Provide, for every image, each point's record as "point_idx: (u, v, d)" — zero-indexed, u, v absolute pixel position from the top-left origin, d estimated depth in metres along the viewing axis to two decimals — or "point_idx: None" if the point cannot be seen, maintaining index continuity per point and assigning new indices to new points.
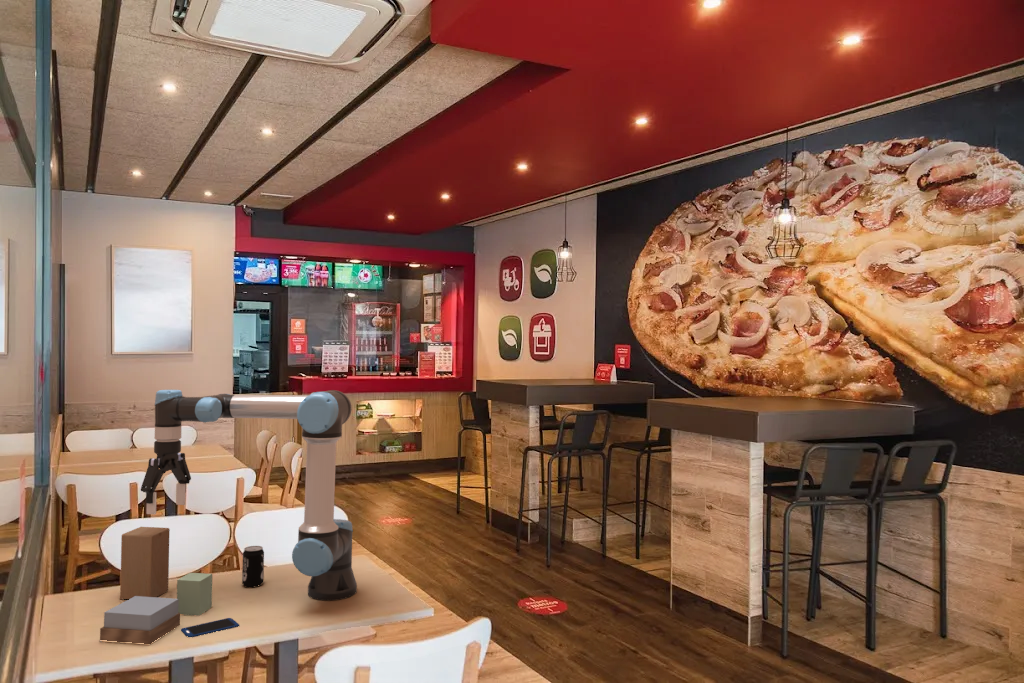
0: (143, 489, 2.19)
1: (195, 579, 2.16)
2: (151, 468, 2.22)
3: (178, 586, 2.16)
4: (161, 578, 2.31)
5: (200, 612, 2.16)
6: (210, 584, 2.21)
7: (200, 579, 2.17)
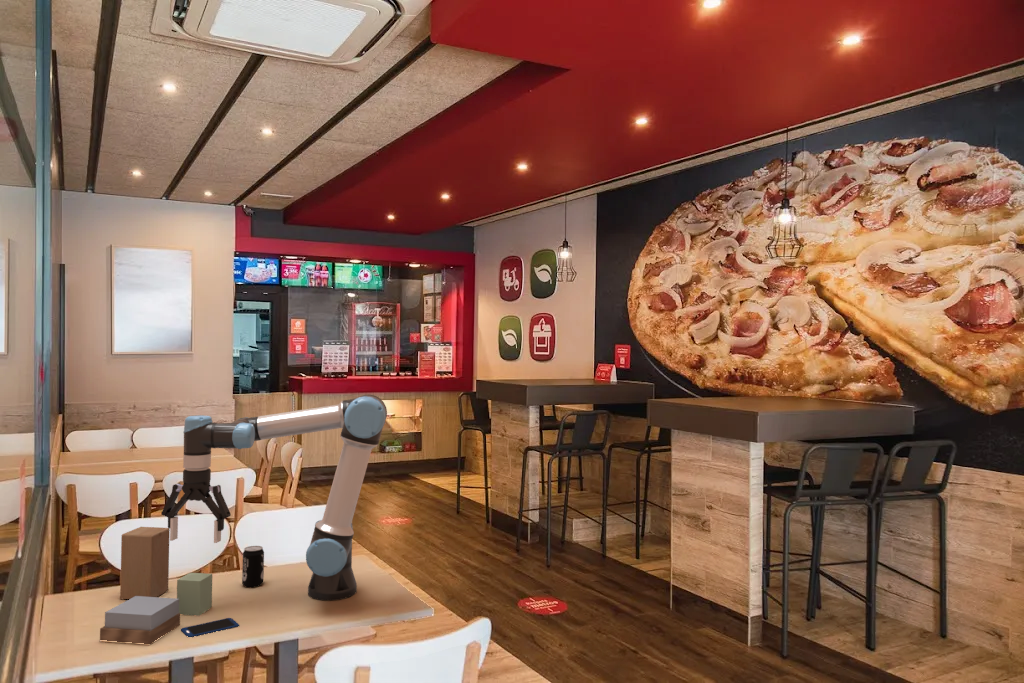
0: None
1: (195, 579, 2.16)
2: None
3: (178, 586, 2.16)
4: (161, 578, 2.31)
5: (200, 612, 2.16)
6: (210, 584, 2.21)
7: (200, 579, 2.17)
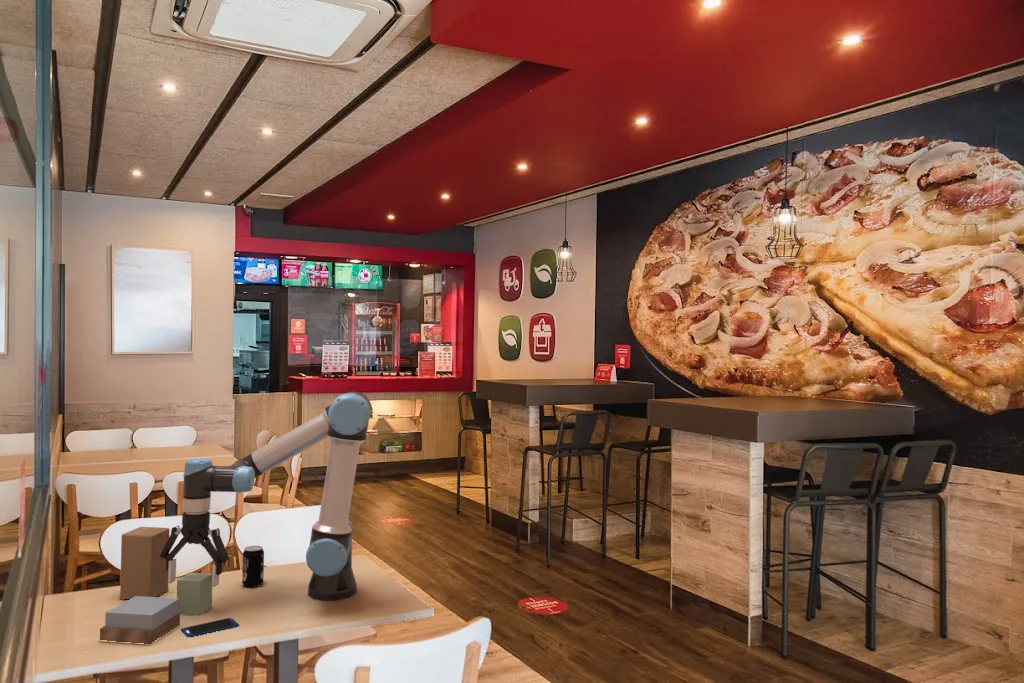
0: None
1: (195, 579, 2.16)
2: None
3: (178, 586, 2.16)
4: (161, 578, 2.31)
5: (200, 612, 2.16)
6: (210, 584, 2.21)
7: (200, 579, 2.17)
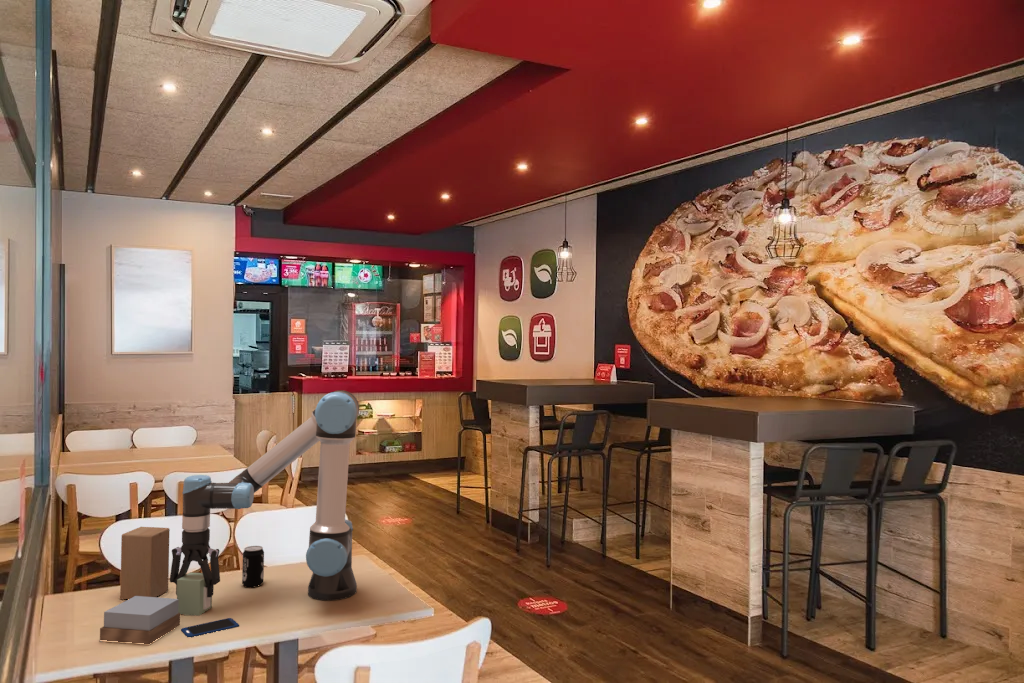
0: None
1: (195, 579, 2.16)
2: None
3: (178, 586, 2.16)
4: (161, 578, 2.31)
5: (200, 612, 2.16)
6: None
7: (200, 579, 2.17)
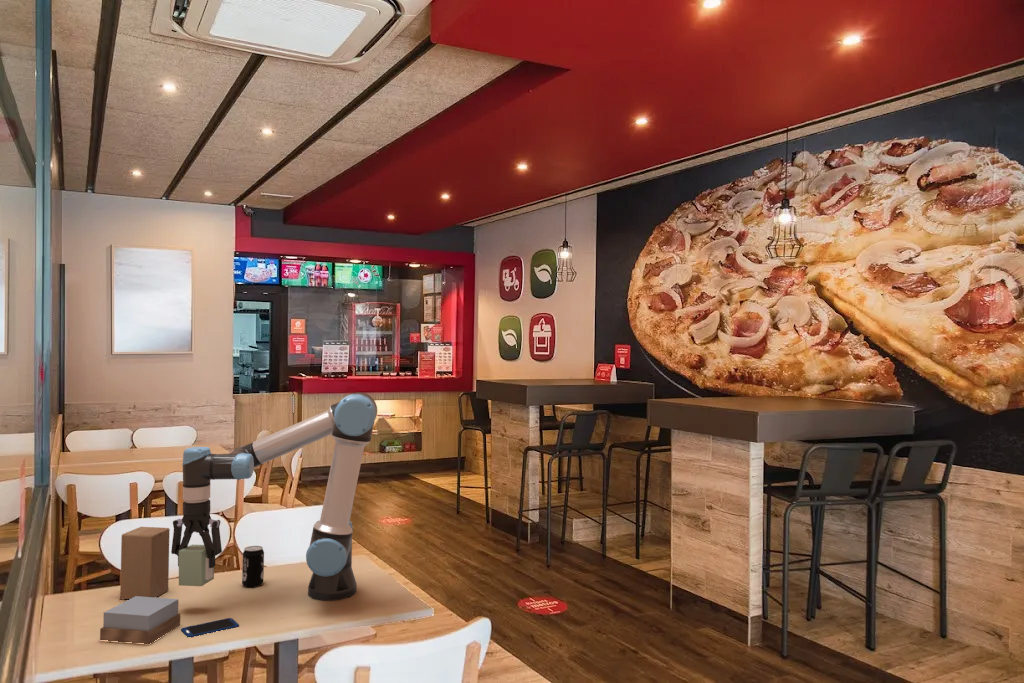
0: None
1: (197, 550, 2.16)
2: None
3: (179, 557, 2.16)
4: (161, 578, 2.31)
5: (202, 583, 2.16)
6: None
7: (202, 550, 2.17)
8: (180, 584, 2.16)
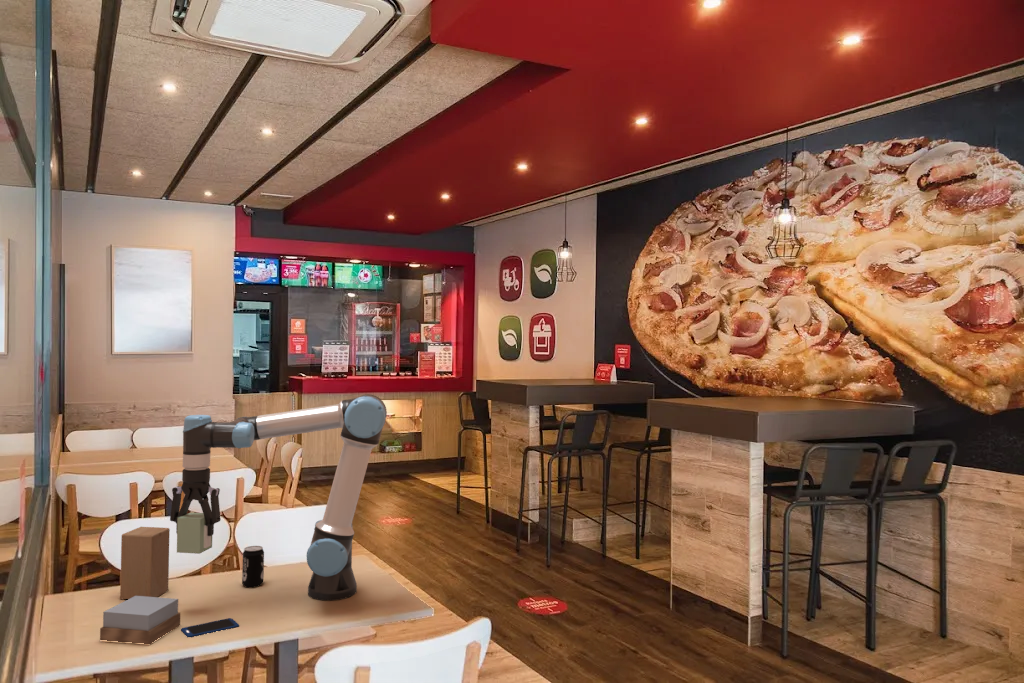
0: None
1: (195, 517, 2.16)
2: None
3: (178, 524, 2.16)
4: (161, 578, 2.31)
5: (200, 550, 2.15)
6: None
7: (200, 517, 2.16)
8: (178, 551, 2.15)
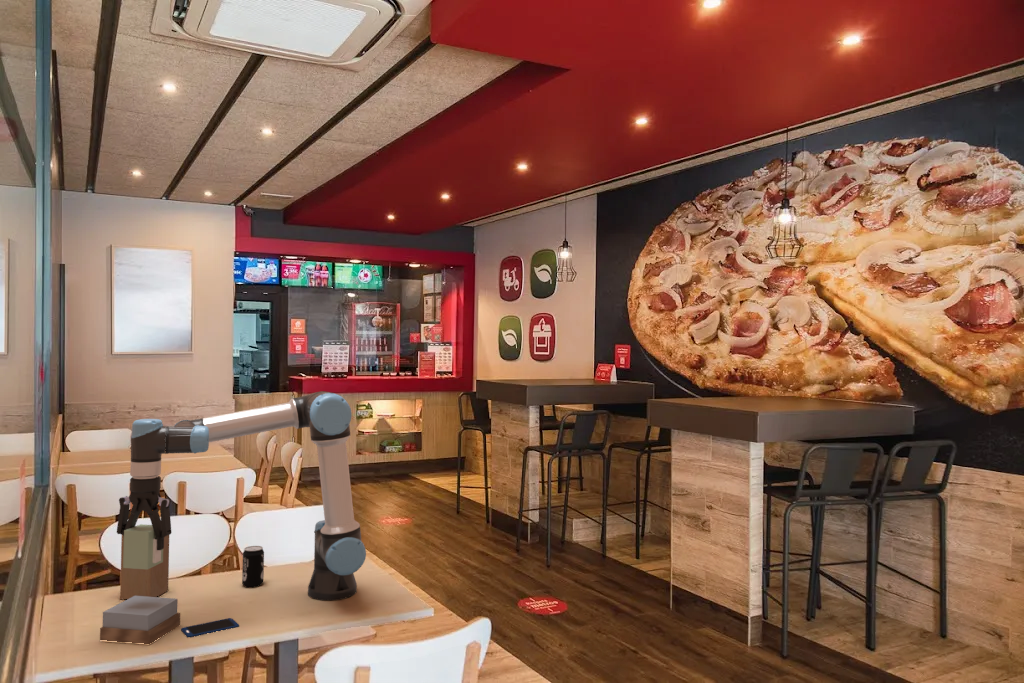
0: None
1: (144, 530, 2.00)
2: None
3: (125, 538, 1.99)
4: (161, 578, 2.31)
5: (149, 565, 1.99)
6: None
7: (149, 530, 2.00)
8: (124, 566, 1.99)
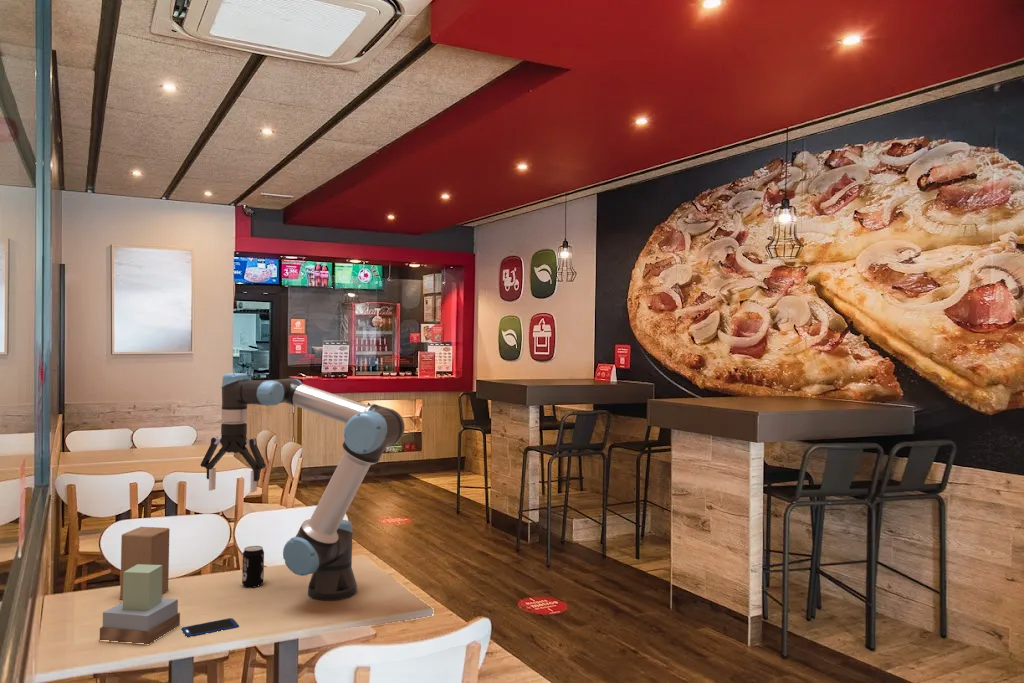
0: None
1: (144, 571, 1.99)
2: None
3: (124, 579, 1.98)
4: None
5: (149, 606, 1.99)
6: (160, 576, 2.04)
7: (149, 571, 1.99)
8: (124, 608, 1.98)
